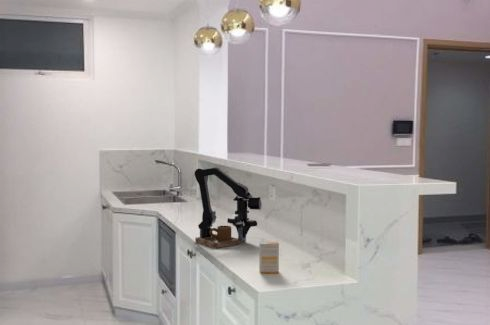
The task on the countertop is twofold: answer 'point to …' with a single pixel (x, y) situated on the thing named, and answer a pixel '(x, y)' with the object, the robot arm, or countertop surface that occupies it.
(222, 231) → the mug
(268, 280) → the countertop surface
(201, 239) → the brown frame with handle
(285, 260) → the countertop surface
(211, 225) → the robot arm
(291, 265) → the countertop surface
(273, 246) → the supplement box
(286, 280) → the countertop surface
